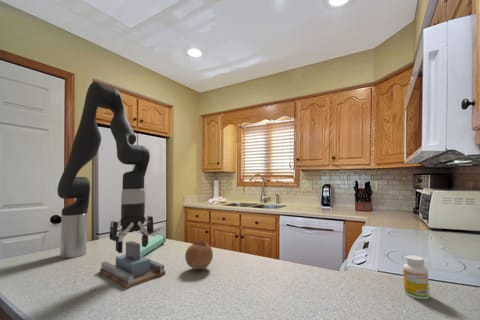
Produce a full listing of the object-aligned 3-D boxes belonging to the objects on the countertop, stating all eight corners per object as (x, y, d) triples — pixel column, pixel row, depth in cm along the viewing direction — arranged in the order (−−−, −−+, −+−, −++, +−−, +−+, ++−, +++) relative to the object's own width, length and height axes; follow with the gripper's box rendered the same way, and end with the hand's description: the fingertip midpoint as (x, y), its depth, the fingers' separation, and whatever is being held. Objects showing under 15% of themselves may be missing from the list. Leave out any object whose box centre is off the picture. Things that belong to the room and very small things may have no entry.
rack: (99, 271, 84) (100, 263, 84) (136, 261, 93) (136, 253, 94) (126, 288, 71) (126, 277, 71) (165, 274, 81) (165, 264, 81)
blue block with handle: (115, 268, 84) (116, 242, 84) (132, 263, 88) (133, 238, 89) (132, 277, 76) (132, 248, 76) (149, 271, 80) (150, 244, 81)
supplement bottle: (410, 288, 68) (407, 253, 69) (433, 296, 63) (430, 258, 64) (400, 293, 65) (398, 256, 66) (424, 302, 60) (421, 262, 61)
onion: (217, 266, 87) (216, 238, 88) (205, 276, 78) (204, 245, 79) (194, 263, 90) (194, 236, 91) (179, 273, 81) (179, 243, 82)
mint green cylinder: (135, 246, 94) (163, 230, 118) (122, 251, 94) (153, 235, 119) (141, 260, 93) (168, 242, 118) (127, 266, 94) (157, 246, 118)
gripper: (146, 199, 92) (146, 243, 91) (107, 203, 81) (105, 252, 80) (157, 200, 87) (157, 246, 86) (116, 204, 76) (115, 257, 75)
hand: (132, 249), depth 83 cm, fingers open, 8 cm apart
